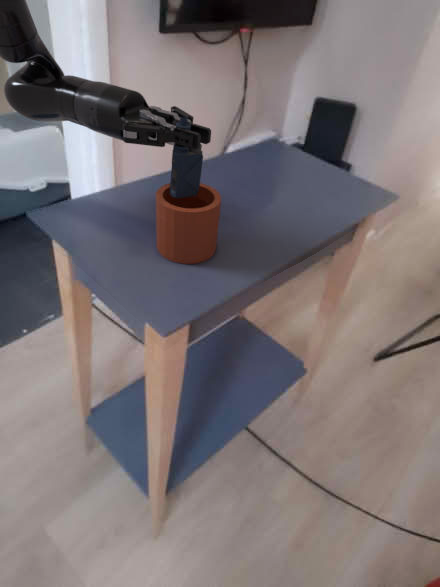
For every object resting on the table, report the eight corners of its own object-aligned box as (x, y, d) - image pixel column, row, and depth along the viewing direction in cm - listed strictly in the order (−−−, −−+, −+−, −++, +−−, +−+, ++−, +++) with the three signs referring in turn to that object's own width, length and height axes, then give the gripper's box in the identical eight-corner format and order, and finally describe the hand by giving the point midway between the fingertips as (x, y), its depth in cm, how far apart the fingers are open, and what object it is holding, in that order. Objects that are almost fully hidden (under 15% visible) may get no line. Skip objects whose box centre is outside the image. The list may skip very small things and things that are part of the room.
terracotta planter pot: (196, 271, 65) (199, 219, 59) (144, 249, 68) (142, 197, 62) (226, 243, 72) (232, 193, 66) (178, 224, 76) (179, 175, 69)
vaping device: (166, 193, 64) (171, 115, 57) (192, 189, 67) (201, 115, 60) (173, 199, 63) (180, 121, 55) (201, 195, 65) (211, 120, 58)
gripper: (75, 93, 55) (179, 123, 50) (138, 78, 65) (230, 102, 59) (82, 146, 60) (177, 179, 54) (139, 125, 70) (224, 151, 64)
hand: (204, 139), depth 57 cm, fingers closed on vaping device, 2 cm apart
